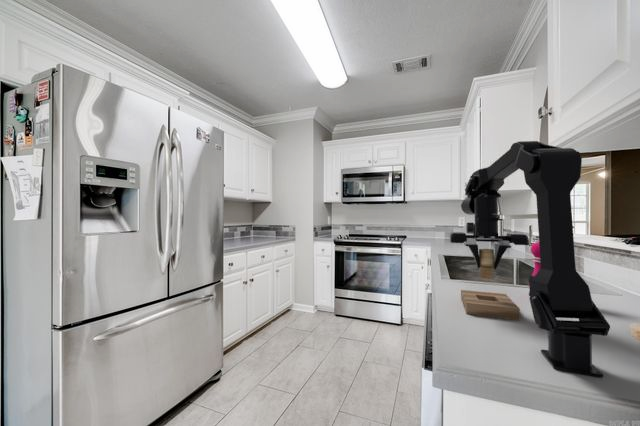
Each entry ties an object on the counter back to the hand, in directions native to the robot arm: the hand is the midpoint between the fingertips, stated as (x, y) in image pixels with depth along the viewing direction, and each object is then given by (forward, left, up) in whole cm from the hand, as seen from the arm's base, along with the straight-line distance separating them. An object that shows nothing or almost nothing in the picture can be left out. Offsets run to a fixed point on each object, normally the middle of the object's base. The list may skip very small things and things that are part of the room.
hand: (486, 268), depth 77 cm
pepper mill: (+16, -18, -12) cm, 27 cm away
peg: (0, 0, -2) cm, 2 cm away
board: (0, 0, -12) cm, 12 cm away
